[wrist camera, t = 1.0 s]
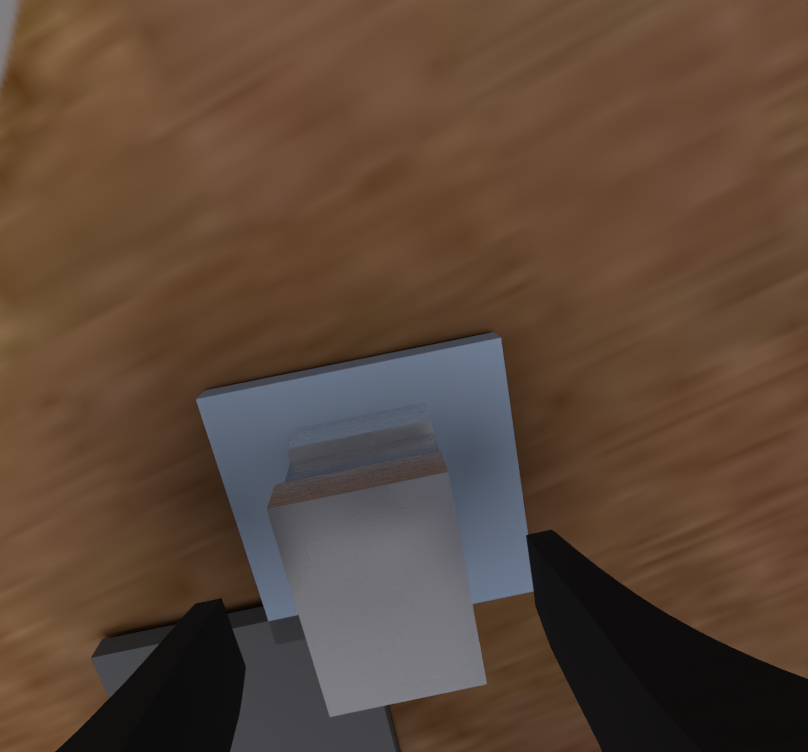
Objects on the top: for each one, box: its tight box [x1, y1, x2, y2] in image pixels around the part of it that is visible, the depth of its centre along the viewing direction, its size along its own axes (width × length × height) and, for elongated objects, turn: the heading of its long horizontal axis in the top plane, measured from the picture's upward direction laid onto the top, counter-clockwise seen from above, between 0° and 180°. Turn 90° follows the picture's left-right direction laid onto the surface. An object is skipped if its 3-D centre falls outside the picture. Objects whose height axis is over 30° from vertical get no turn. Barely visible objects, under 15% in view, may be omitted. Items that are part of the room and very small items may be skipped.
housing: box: [266, 403, 487, 717], centre depth 14 cm, size 6×4×4 cm, turn 11°
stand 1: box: [196, 332, 534, 621], centre depth 17 cm, size 9×9×1 cm
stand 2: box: [91, 606, 400, 752], centre depth 19 cm, size 9×9×1 cm
